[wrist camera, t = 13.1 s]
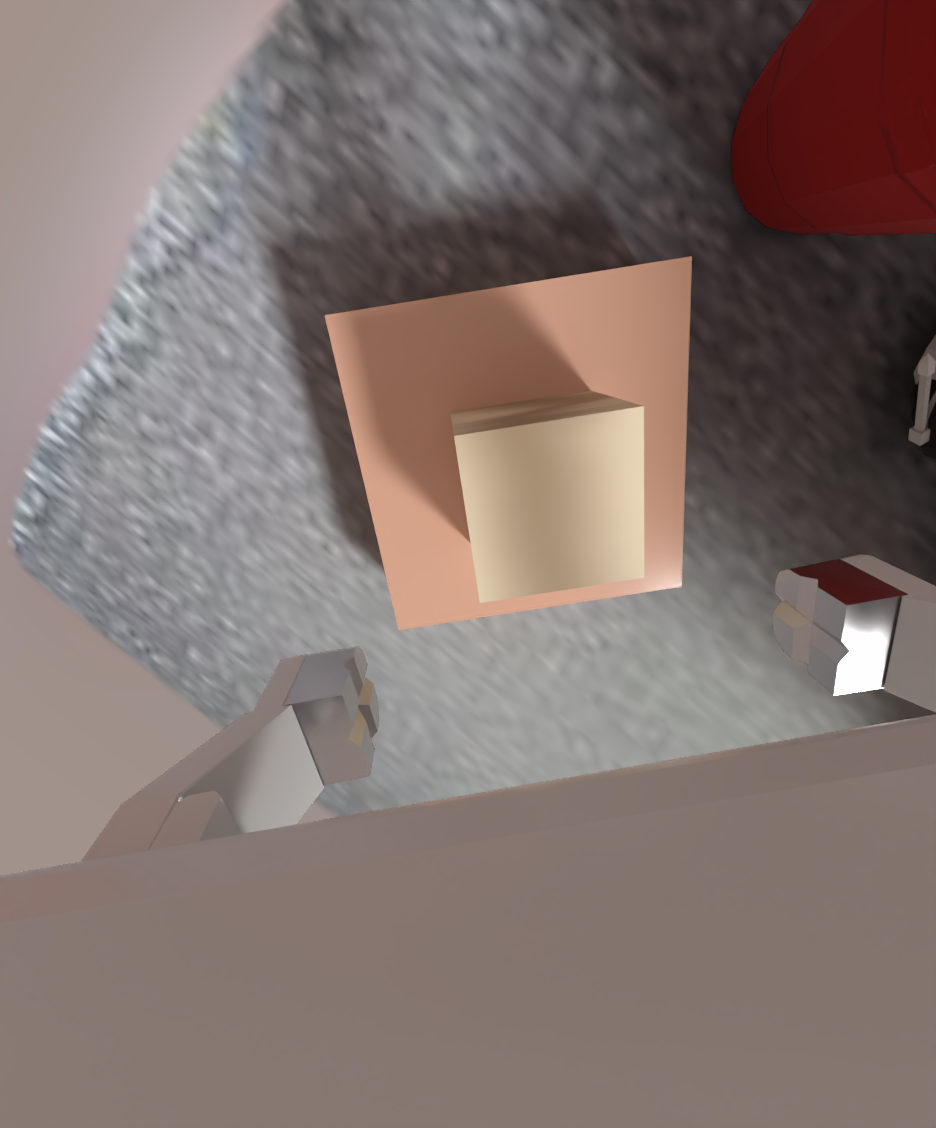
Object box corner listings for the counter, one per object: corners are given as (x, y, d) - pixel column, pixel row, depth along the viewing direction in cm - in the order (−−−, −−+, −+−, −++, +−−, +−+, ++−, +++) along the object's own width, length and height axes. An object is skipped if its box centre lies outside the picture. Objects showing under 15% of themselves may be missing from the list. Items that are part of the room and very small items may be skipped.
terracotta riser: (645, 272, 20) (692, 256, 16) (645, 550, 25) (681, 586, 21) (345, 320, 20) (324, 315, 16) (404, 587, 25) (398, 630, 21)
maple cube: (590, 390, 18) (643, 405, 13) (596, 523, 20) (644, 577, 15) (450, 412, 18) (453, 436, 13) (470, 542, 20) (479, 603, 15)
